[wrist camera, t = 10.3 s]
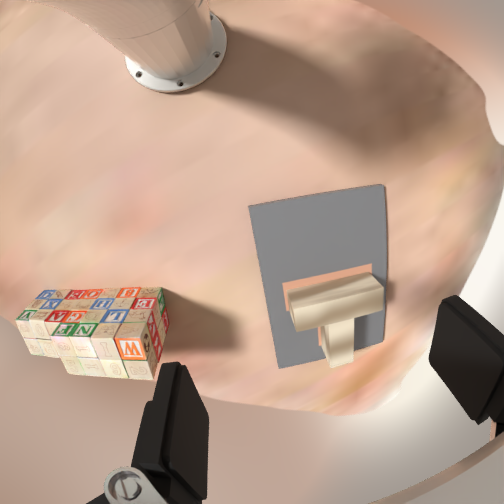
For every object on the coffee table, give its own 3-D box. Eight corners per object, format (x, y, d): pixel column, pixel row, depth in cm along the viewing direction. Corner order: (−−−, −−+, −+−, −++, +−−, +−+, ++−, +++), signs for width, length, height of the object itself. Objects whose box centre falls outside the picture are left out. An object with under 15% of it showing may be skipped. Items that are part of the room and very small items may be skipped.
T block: (286, 290, 39) (293, 309, 34) (368, 271, 39) (383, 287, 34) (295, 353, 43) (301, 375, 38) (366, 335, 43) (379, 353, 38)
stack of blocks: (55, 322, 40) (21, 366, 28) (43, 289, 38) (3, 330, 26) (170, 323, 41) (154, 381, 29) (162, 285, 39) (140, 339, 27)
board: (248, 205, 36) (248, 207, 35) (380, 183, 36) (383, 185, 35) (278, 364, 45) (278, 368, 44) (380, 338, 45) (382, 342, 44)
